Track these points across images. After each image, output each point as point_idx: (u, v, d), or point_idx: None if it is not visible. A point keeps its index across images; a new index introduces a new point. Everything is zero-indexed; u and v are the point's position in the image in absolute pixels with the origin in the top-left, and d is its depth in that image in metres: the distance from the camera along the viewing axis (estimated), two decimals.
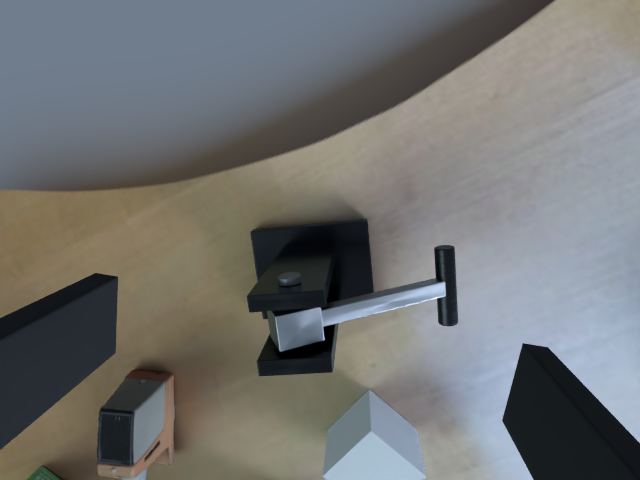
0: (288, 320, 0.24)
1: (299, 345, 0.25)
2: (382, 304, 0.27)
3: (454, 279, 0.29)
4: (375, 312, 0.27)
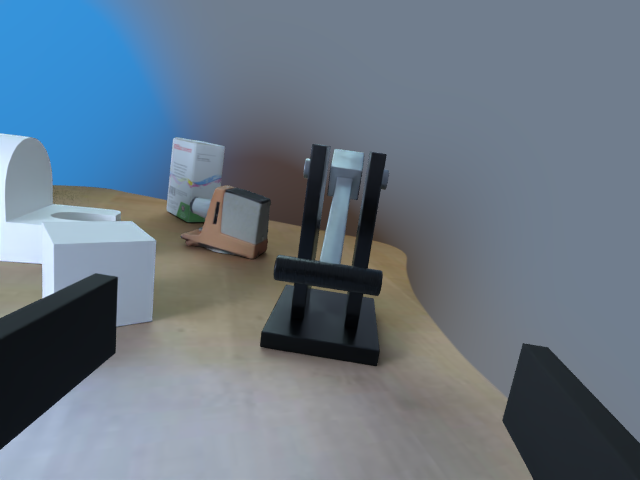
0: (358, 156, 0.30)
1: (334, 156, 0.30)
2: (338, 211, 0.26)
3: (339, 271, 0.21)
4: (332, 205, 0.26)
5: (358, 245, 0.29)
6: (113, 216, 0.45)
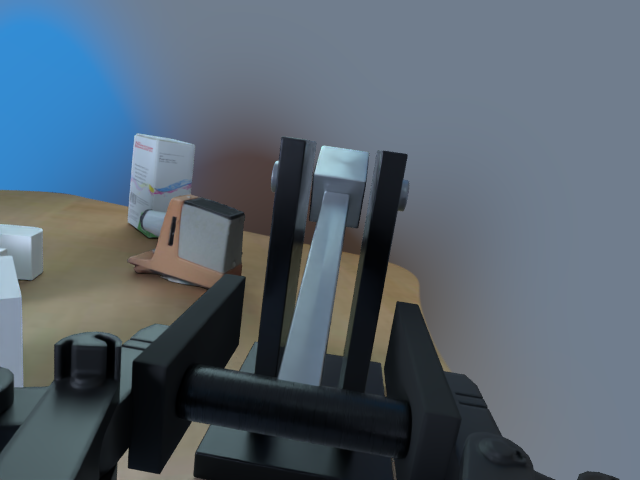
0: (359, 157, 0.19)
1: (320, 157, 0.18)
2: (323, 258, 0.14)
3: (317, 409, 0.10)
4: (313, 246, 0.15)
5: (359, 304, 0.18)
6: (28, 237, 0.33)
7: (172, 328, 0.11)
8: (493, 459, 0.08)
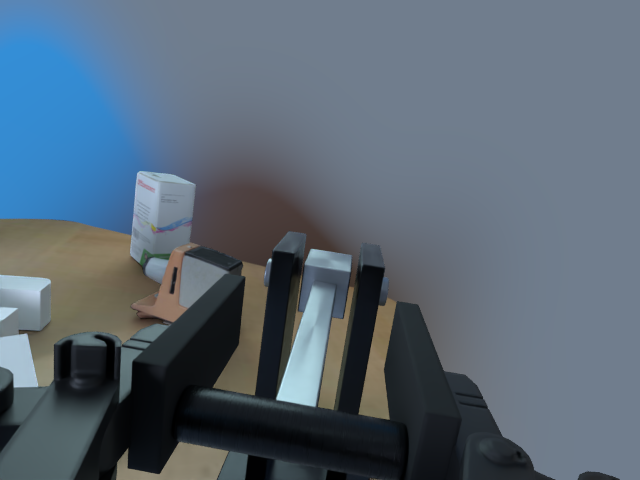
0: (344, 257, 0.21)
1: (310, 255, 0.21)
2: (315, 321, 0.15)
3: (315, 420, 0.10)
4: (305, 313, 0.16)
5: (342, 394, 0.20)
6: (37, 291, 0.35)
7: (172, 328, 0.11)
8: (494, 459, 0.08)
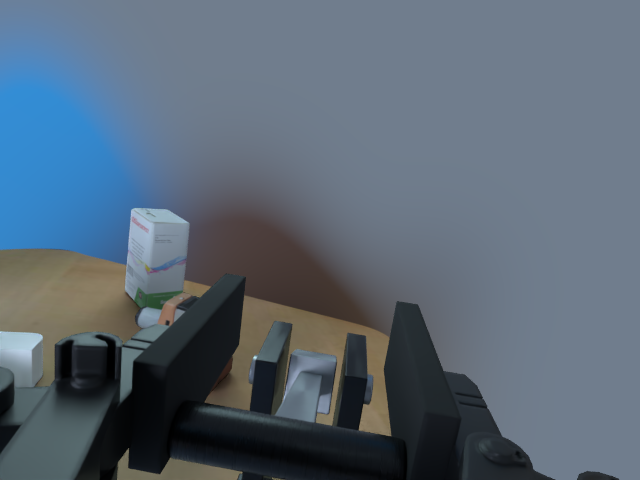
0: (328, 355, 0.22)
1: (295, 351, 0.21)
2: (305, 388, 0.15)
3: (314, 428, 0.10)
4: (295, 384, 0.16)
5: None
6: (28, 350, 0.35)
7: (172, 328, 0.11)
8: (493, 459, 0.08)
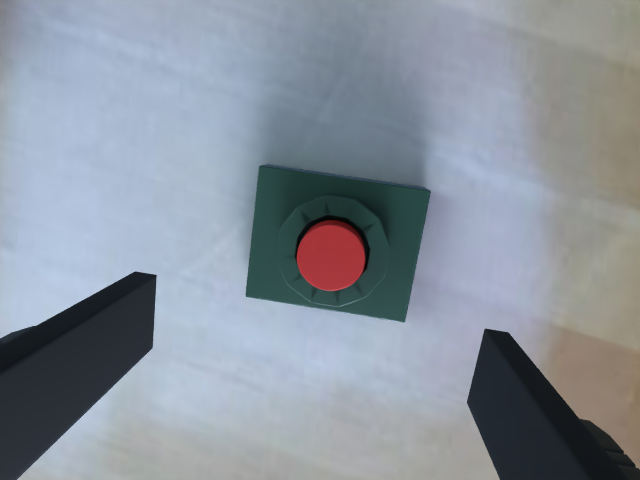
0: None
1: None
2: None
3: None
4: None
5: None
6: None
7: (31, 331, 0.10)
8: None
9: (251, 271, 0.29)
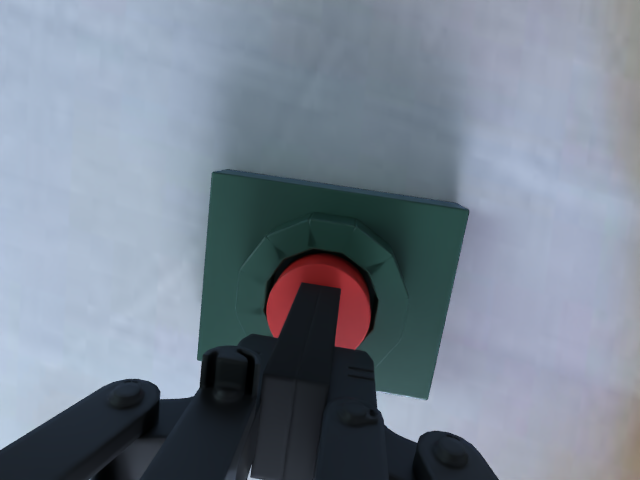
0: None
1: None
2: None
3: None
4: None
5: None
6: None
7: (281, 339, 0.11)
8: (349, 421, 0.08)
9: (204, 325, 0.20)
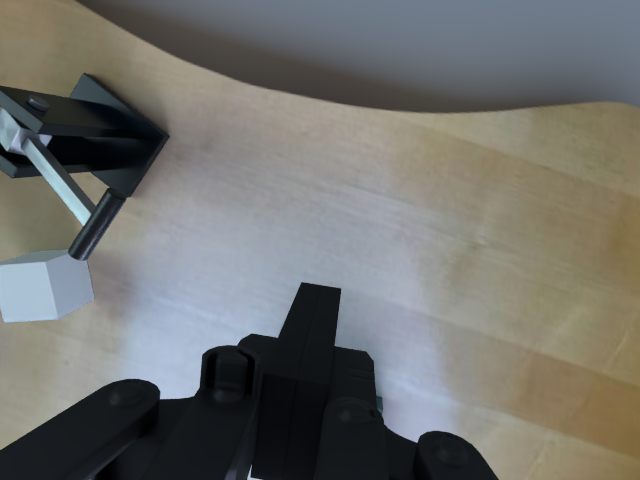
0: (5, 116, 0.31)
1: None
2: (52, 177, 0.30)
3: (95, 220, 0.28)
4: (45, 177, 0.30)
5: (92, 135, 0.37)
6: None
7: (282, 339, 0.11)
8: (349, 421, 0.08)
9: None
